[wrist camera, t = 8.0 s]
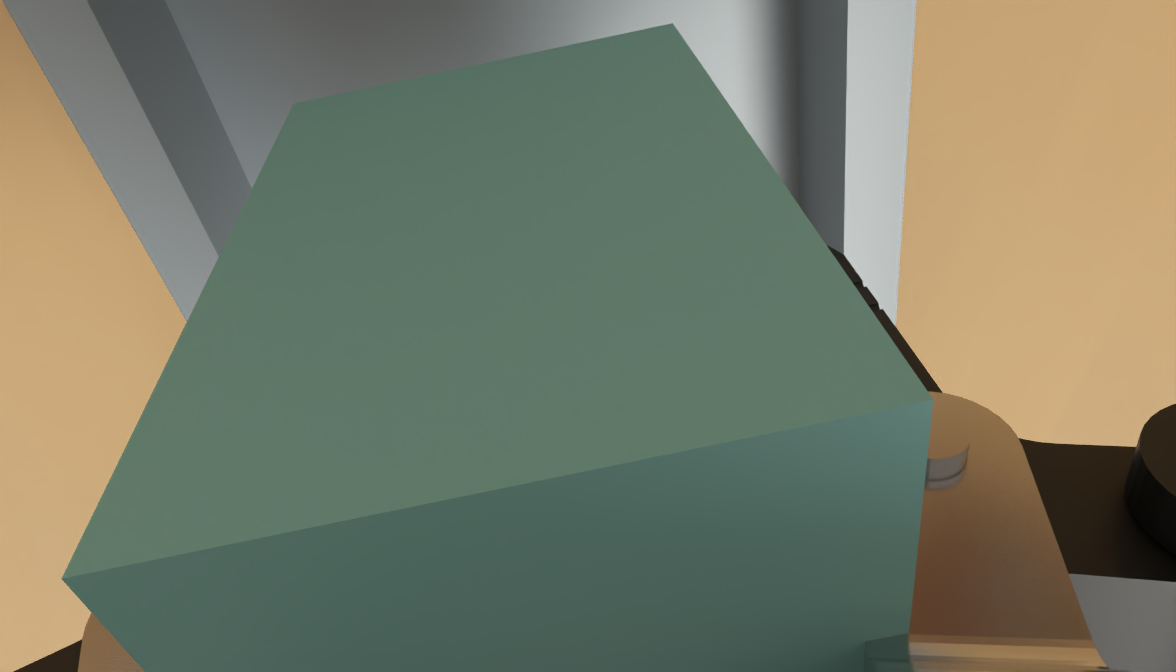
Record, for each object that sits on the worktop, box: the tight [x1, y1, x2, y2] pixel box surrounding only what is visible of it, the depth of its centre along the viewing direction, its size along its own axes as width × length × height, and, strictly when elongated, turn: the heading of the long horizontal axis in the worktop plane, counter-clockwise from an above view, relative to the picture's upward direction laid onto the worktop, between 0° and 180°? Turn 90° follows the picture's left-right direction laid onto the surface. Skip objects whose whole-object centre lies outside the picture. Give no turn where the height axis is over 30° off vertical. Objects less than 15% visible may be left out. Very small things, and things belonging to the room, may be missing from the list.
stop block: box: [62, 23, 933, 672], centre depth 8 cm, size 4×6×6 cm, turn 10°
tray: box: [2, 0, 917, 327], centre depth 14 cm, size 12×16×3 cm
